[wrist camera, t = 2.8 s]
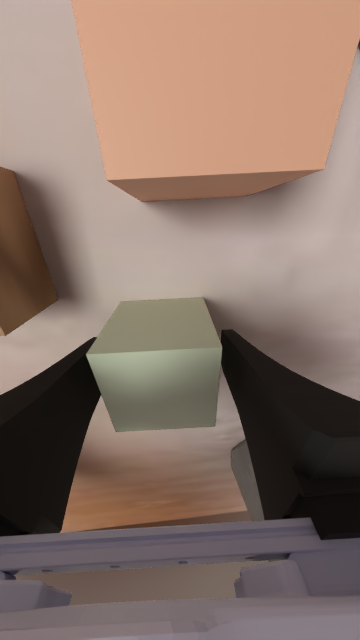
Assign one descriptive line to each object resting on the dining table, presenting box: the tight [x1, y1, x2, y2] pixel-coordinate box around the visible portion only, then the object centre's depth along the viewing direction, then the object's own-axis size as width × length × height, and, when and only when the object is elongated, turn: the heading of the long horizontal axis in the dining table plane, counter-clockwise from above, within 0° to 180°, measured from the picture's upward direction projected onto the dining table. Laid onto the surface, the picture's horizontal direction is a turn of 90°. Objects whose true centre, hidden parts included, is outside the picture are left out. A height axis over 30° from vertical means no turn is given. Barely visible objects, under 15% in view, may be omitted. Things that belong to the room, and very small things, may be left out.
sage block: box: [86, 297, 222, 432], centre depth 10 cm, size 5×5×5 cm
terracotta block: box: [71, 0, 360, 201], centre depth 5 cm, size 5×5×5 cm
